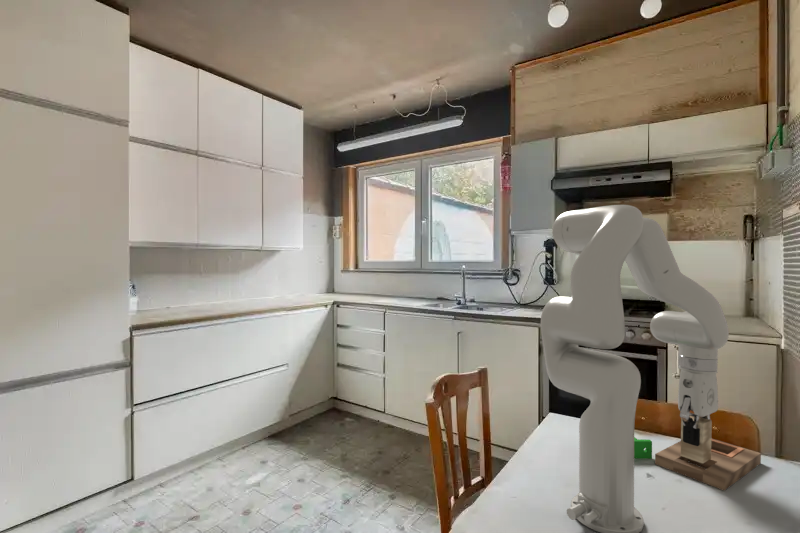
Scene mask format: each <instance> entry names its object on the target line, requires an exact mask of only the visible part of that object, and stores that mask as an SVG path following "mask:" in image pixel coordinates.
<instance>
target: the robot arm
mask: <svg viewBox="0 0 800 533" xmlns="http://www.w3.org/2000/svg"><path fill="white" fill-rule="evenodd" d="M551 229H552V230H551V231H552V232H551V233H552V234H551V235H552V238H553V240H554V242H555V244H556V245H557V246H558V247H559V248H560V249H561V250H563V251H565V252H568V253H570V254H571V253H572V254H575V255H578V257H577V259H576V260H575V262H574V264H573V266H572V268H571V272H570V288H571V296H567V295H560V296H554V297H552V298H551V299H550V300H548V302H546V304H545V305H544V307H543V309H542V312H541V316H540V333H541V339H542V346H543V347H542V348H543V354H544V362H545V368H546V373H547V376H548V379H549V380H550V382H551V383H552V385H553V386H554V387H555V388H557V389H559V390H561V391H564V392H566V393H570V394H573V395H575V396H579V397H582V398H584V399H587V400H589V401H590V403H589V406H588V407H587V408H586V410H584V412H583V413H582V414H581V416H580V419H579V426H578V429H579V430H578V431H579V432H578V433H579V435H578V437H579V439H578V440H579V442H578V443H579V444H578V445H579V448H578V449H579V450H578V452H579V454H578V455H579V457H578V459H579V461H578V462H579V465H578V466H579V469H578V471H579V472H578V473H579V476H578V477H579V478H578V479H579V482H578V483H579V484H578V486H579V487H578V493H577V495H575V496H574V497H573V498H571V500H570V506H569V507H568V508H567V509H566V515H567V517H568V518H569V519H570V520H573V521H575V520H577V521H579V522H580V523H581V524H582V525H584V527H585V526H586V527H587V528H589V529H590V530H593V531H596V532H598V533H640V532H642V530H643V529H644V525H645V524H644V518H643V515H642V513H641V512H640V511H639V510H638V509H637V508H636V507H635V458H634V437H635V420H636V411H637V403H638V399H639V395H640V394H639V393H640V391H641V384H642V379H641V378H642V377H641V373H640V371H639V368H638V367H637V366H636V365H635V363H633V362H632V361H631V360H630V359H627V358H626V357H623V356H621V355H618V354H614V353H611V352H605V351H600V350H612V349H616V348H618V347H619V346H621V345H622V344H623V342H624V340H625V337H626V336H625V334H626V324H625V312H624V305H623V304H624V303H623V296H622V294H623V293H622V288H621V285H622V284H621V272H622V269H623V265H624V263H625V264H626V265H627V267H628V269H629V272H630V273H631V275H632V277H633V280H634V282H635V284H636V285H637V286H636V287H637V288H638V289H639V290H640V291H641V292H642V293H643V294H646V295H648V296H650V297H651V298H653V299H657V300H659V301H661V302H664V303H667V304H669V305H673V306H675V307H677V308H679V309H681V310H683V311H676V310H675V311H674V310H664V311H660V312H658V313H656V314H655V315H654V316H653V317H652V318H651V321H650V324H649V329H650V333H651V335H652V336H653V337H654V338H655V339H656V340H658V341H660V342H662V343H665V344H670V345H677V346H678V347H677V348H678V349H677V350H678V355H677V360H678V361H677V369H679V370H680V372H679V381H678V390H677V391H678V393H677V394H678V395H677V406H678V407H677V408H678V411H680V412H679V417H680V419H681V418H682V420H683V422H682V424H683V441H684V442H685V443H688V444H691V445H695V446H699V445H700V429H699V428H698V422H699V417H701V418H705V419H709V420H711V416H710V415H711V414H712V415H713V413H716V412H717V411H718V410H719V394H718V393H719V392H718V378H717V374H718V363H719V362H718V358H719V357H718V356H719V355H718V354H719V353H718V352H719V349H721V348H723V347H724V346H725V345H726V344H727V343H728V339H729V334H730V333H729V325H728V322H727V319H726V316H725V313H724V311H723V309H722V307H721V304H720V302H719V301H718V299H717V298H716V297H715V296H714V295H713V294H712V293H711V292H710V291H709V290H708V289H706V288H705V287H703V286H702V285H700V284H699V283H697V281H695V280H694V279H691V278H690V277H689V276H687V275H686V274H685V275H684V274H683V273H682V272H681V269H680V267H679V266H678V263H677V261H676V258H675V256H674V253H673V251H672V249H671V247H670V243H669V242H668V240H667V237H666V235H665V233H664V231H663V228H662V227H661V225H660V223H658V222H657V221H656V220H654V219H652V218H649V217H644V216H643V213H642V211H641V210H640V209H639V208H638V207H636V206H633V205H630V204H611V205H603V206H596V207H590V208H589V207H588V208H581V209H575V210H569V211H565V212H563V213H561V214H560V215H558V216H557V217H556V219H555V220H554V222H553V223H552V228H551ZM579 346H581V347H579ZM584 347H586V348H584ZM588 348H589V349H588ZM590 348H591V349H590ZM592 348H593V349H592ZM595 349H600V350H599V351H598V350H595ZM691 411H692V412H691ZM690 416H693V417H694V421H693V419H692V418H690Z"/></svg>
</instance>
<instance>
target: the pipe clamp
mask: <svg viewBox="0 0 800 533" xmlns="http://www.w3.org/2000/svg"><path fill="white" fill-rule="evenodd" d="M635 459H639V460H640V459H641V460H642V459H644V460H645V459H647V460H649V459H653V441H652V440H651V439H638V438H636V437H635V436H634V460H635Z"/></svg>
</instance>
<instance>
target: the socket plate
mask: <svg viewBox="0 0 800 533" xmlns="http://www.w3.org/2000/svg"><path fill="white" fill-rule="evenodd" d="M654 455H655V456H654V459H655V460H654V461H655V462H654V464H655V465H656V466H659V467H660V468H661V467H662V468H664V469H667V470H669V471H672V472H675V473H677V474H680V475H683V476H685V477H688V478H690V479H693V480H696V481H698V482H701V483H703V484H706V485H709V486H711V487H714V488H717V489H719V490H722V491H726V490H727V489H729V488H730V487H731V486H733V485H734V484H736V483H737V482H738V481H740V480H741V479H742V478H744V477H745V476H746V475H747V474H749V473H750V472H751V471H753V470H754V469H755V468H757V467H758V466H759V465H761V464H760V463H762V461H761V460H762V453H761V452H758V451H755V450H751V449H749V448H745V447H741V446H738V445H735V444H732V443H728V442H725V441H722V440H719V439H714V438H712V437H711V459H710V460H708V461H706V462H705V463H700V462H697V461H694V460H691V459H688V458H686V457H683V456H681V440H679V441H678V442H676V443H673V444H671V445H670V446H668V447H666V448H664V449H662V450H660V451H658V452H656V453H655V454H654ZM757 465H758V466H757ZM756 466H757V467H756ZM752 469H753V470H752Z"/></svg>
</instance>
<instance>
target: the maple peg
mask: <svg viewBox="0 0 800 533" xmlns="http://www.w3.org/2000/svg"><path fill="white" fill-rule="evenodd" d="M690 418H692V419H693V421H694V417H693V416H690ZM680 419H681V421H680V422H681V423H680V441H681V456H683V457H686V458H688V459H691V460H694V461H697V462H700V463H705V462H706V461H708V460H710V459H711V438H712V430H713V429H712V428H713V427H712V425H713V424H712V423H713V422H712V421H713V420H712V419H710V420H709V419H705V418H701V417H699V422H698V428H699V429H700V445H699V446H695V445H691V444H688V443H685V442H684V441H683V424H682V422H683V420H682V418H681V417H680Z"/></svg>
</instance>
